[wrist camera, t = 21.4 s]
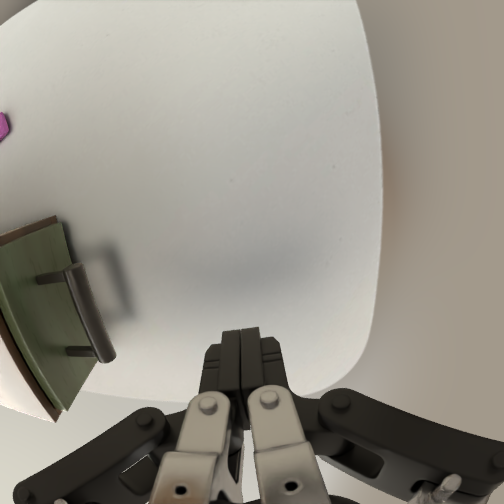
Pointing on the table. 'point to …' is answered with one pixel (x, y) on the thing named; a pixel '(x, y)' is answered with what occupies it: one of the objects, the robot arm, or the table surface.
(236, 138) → the table surface
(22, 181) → the table surface
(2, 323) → the cabinet
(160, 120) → the table surface
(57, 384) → the drawer
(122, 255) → the table surface
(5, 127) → the pink toy rifle
